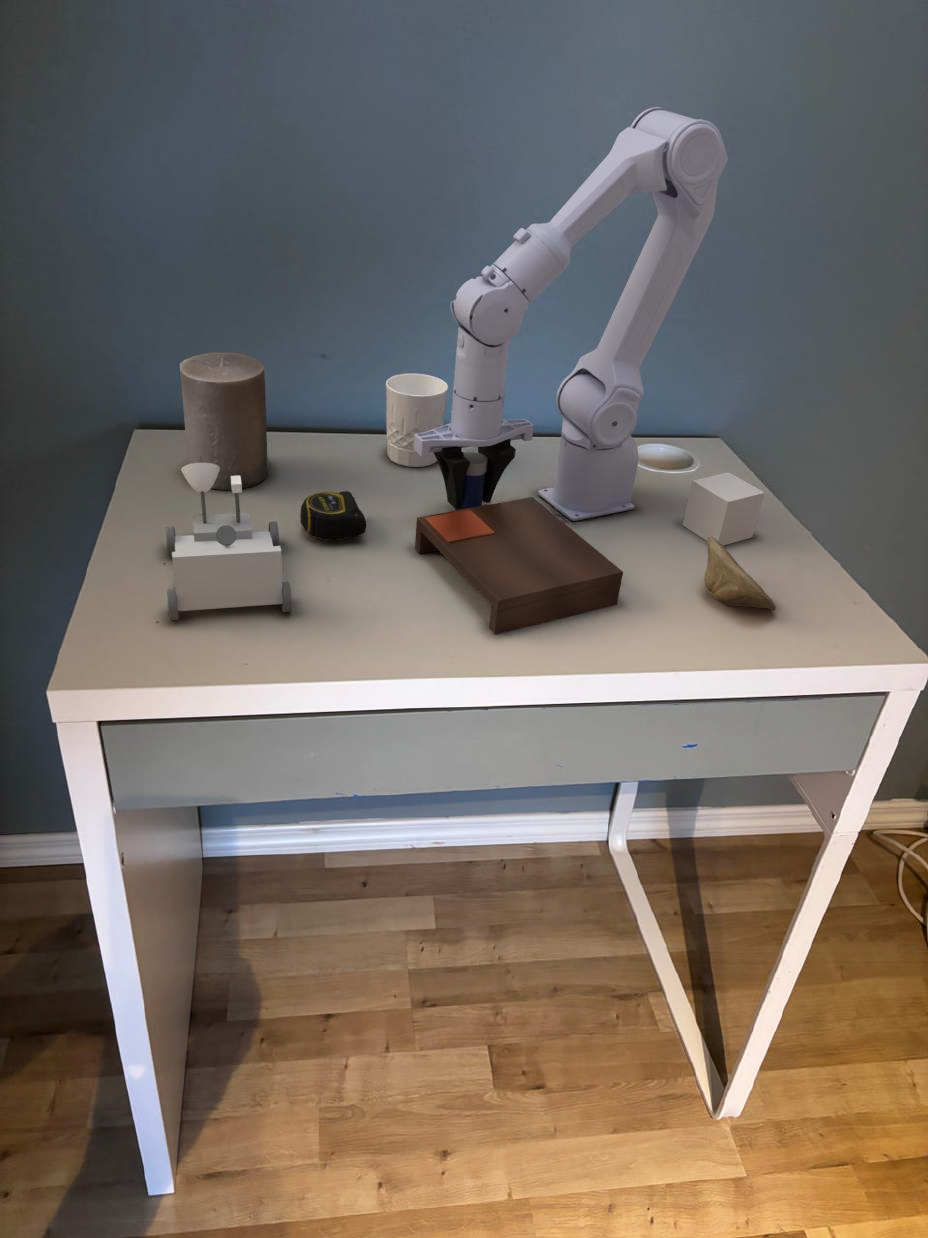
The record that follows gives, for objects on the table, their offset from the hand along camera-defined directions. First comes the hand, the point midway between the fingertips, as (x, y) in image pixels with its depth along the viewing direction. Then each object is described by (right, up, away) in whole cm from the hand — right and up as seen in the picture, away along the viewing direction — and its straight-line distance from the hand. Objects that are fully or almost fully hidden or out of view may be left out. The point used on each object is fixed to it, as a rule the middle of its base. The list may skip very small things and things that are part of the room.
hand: (468, 501), depth 117 cm
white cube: (+30, -3, +3) cm, 30 cm away
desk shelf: (+5, -9, -10) cm, 14 cm away
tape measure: (-15, -4, -4) cm, 16 cm away
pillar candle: (-30, +4, +5) cm, 31 cm away
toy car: (-25, -9, -14) cm, 30 cm away
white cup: (-7, +7, +14) cm, 17 cm away
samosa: (+28, -12, -10) cm, 33 cm away
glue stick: (0, -1, +1) cm, 2 cm away
